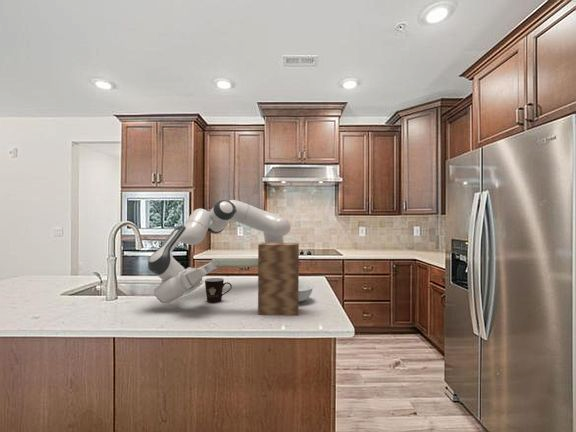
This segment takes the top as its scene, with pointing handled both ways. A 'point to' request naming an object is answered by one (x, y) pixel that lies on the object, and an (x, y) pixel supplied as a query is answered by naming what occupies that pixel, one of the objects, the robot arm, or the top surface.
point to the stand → (278, 278)
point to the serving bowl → (304, 291)
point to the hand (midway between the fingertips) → (219, 261)
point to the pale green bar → (236, 262)
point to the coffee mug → (215, 289)
